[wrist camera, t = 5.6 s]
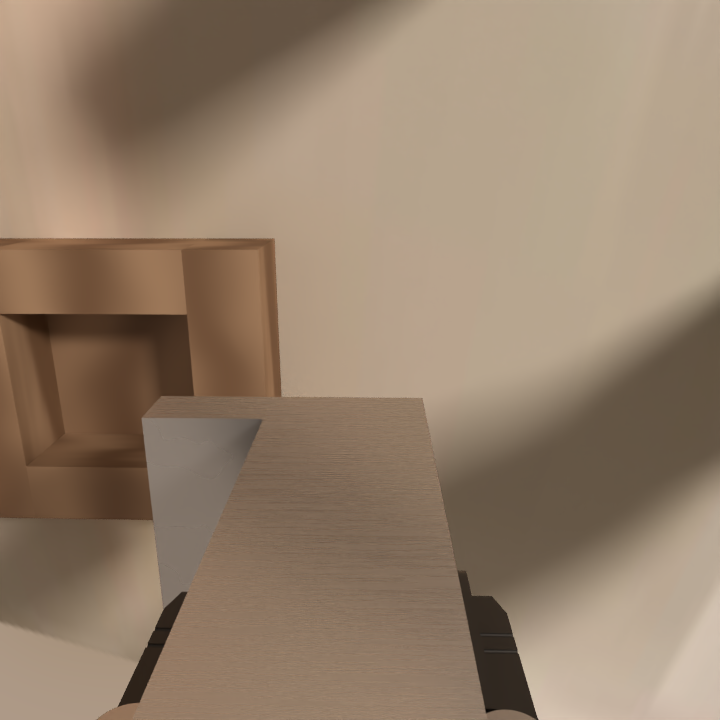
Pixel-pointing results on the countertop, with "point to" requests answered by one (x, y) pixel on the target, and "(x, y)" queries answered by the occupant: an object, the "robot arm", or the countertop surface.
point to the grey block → (304, 563)
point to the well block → (120, 358)
